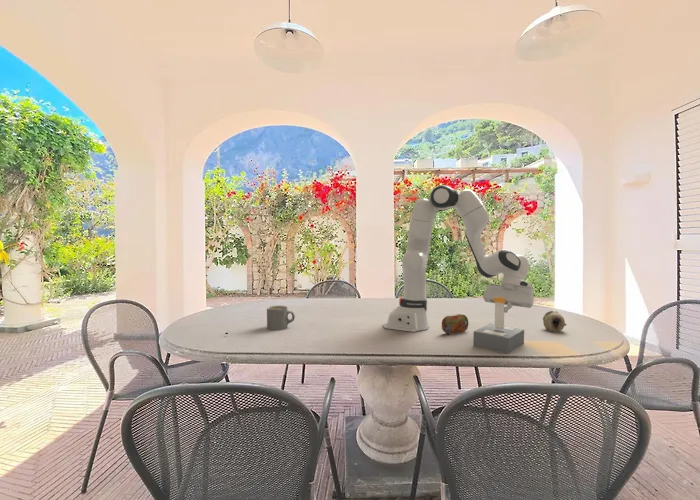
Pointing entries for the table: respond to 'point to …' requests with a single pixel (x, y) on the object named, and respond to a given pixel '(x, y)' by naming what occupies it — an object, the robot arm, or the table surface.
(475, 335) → the switch box
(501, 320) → the breaker lever
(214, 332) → the table surface
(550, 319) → the beige hollow lumpy pot
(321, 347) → the table surface
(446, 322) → the tin
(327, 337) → the table surface
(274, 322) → the coffee mug
